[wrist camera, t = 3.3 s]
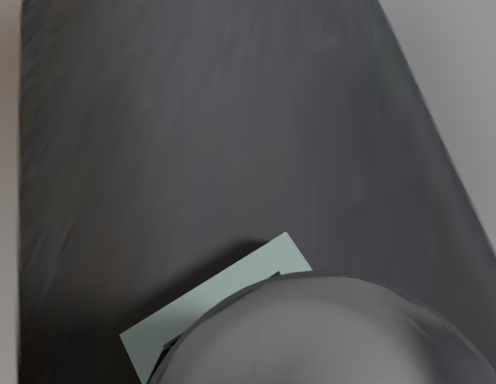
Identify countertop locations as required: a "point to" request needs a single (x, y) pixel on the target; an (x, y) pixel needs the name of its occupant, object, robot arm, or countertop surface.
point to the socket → (207, 301)
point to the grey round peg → (323, 337)
